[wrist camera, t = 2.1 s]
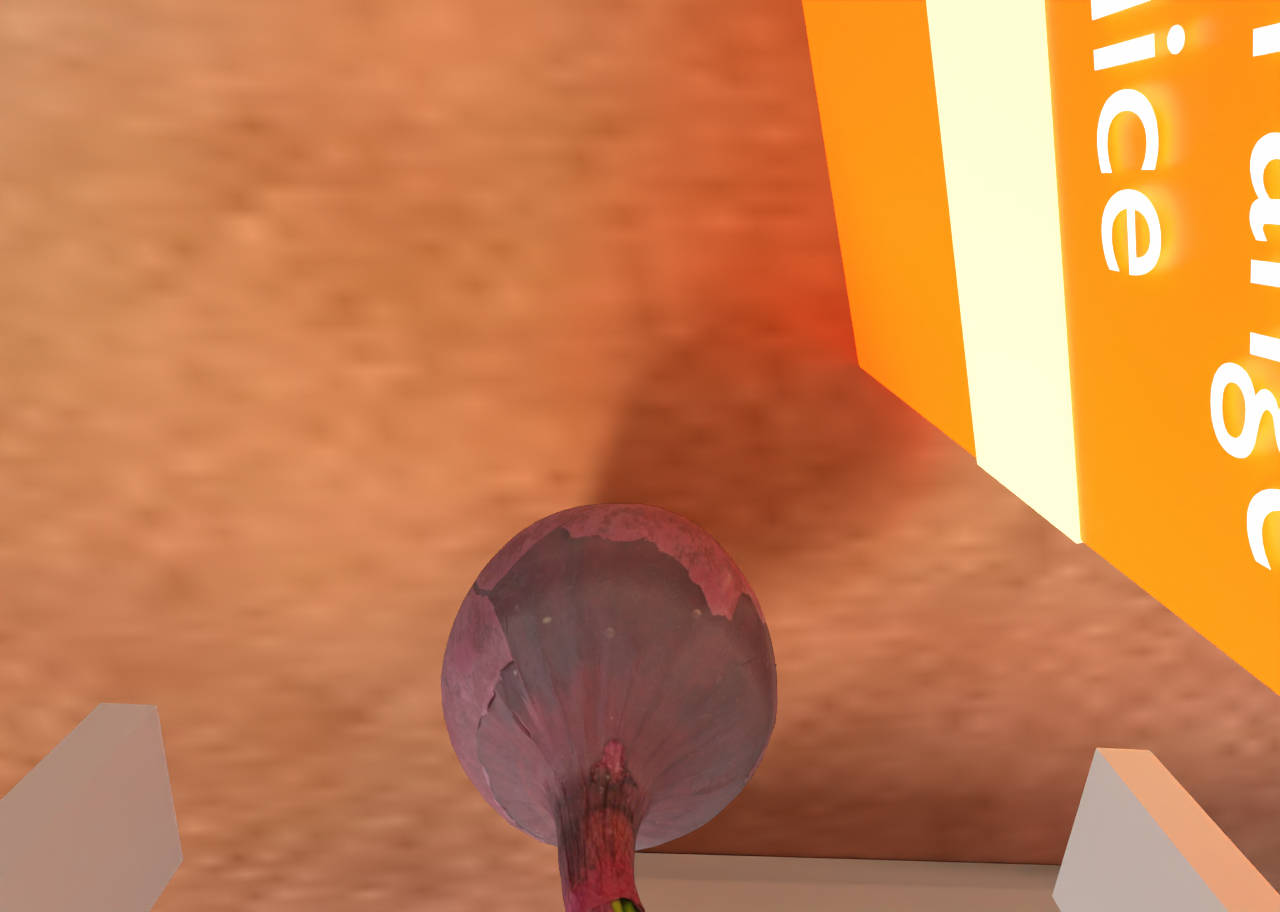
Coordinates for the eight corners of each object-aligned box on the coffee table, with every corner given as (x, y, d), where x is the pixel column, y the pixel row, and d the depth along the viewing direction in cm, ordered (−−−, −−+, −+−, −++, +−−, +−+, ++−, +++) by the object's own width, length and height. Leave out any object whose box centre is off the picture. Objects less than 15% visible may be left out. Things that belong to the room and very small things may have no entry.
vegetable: (544, 723, 19) (467, 1237, 10) (429, 506, 17) (200, 887, 8) (780, 640, 19) (939, 1104, 9) (688, 406, 17) (768, 690, 7)
